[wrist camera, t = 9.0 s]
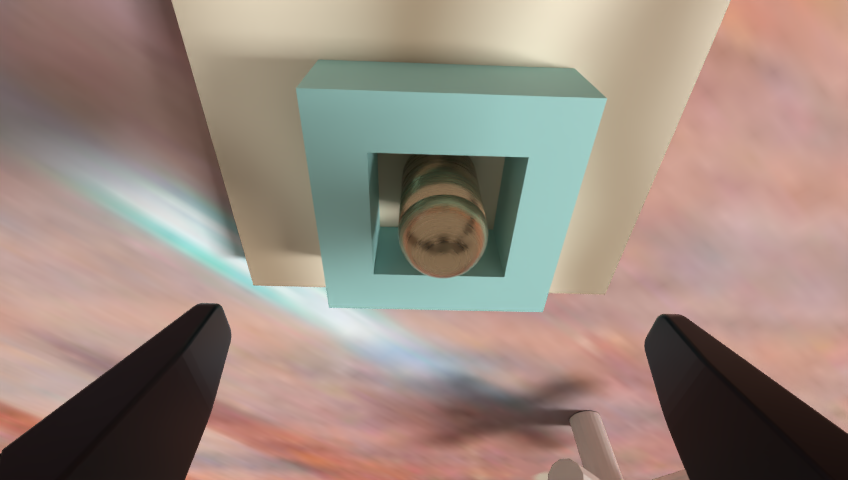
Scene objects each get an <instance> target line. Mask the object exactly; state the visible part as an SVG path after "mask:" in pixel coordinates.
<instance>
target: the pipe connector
mask: <svg viewBox="0 0 848 480" xmlns="http://www.w3.org/2000/svg"><path fill="white" fill-rule="evenodd" d="M570 424H571V428H572V431H573V434H574V438H575V441H576V444H577V448H578V451H579V454H580V458H581V461H582V464H583V467H582V466H580V465H579V464H577V463H576V462H574V461H572V460H571V459H560V460H558V461H557V462H555V463H554V464H553V465H552V467H551V469H550V471H549V473H548V480H623V478H622V475H621V472H620V469H619V467H618V464H617V461H616V458H615V456H614V453H613V450H612V448H611V445H610V442H609V439H608V437H607V434H606V431H605V428H604V426H603V423H602V420H601V417H600V415H599V414H598V413H596V412H594V411H583V412H579V413H576V414H574V415H573V416H572V417H571V418H570ZM652 480H689V478H688V475H687V473H686V470H685V469H684V470H681V471H678V472H675V473H672V474H668V475H665V476H662V477H659V478H656V479H652Z"/></svg>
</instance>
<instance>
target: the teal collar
mask: <svg viewBox="0 0 848 480" xmlns="http://www.w3.org/2000/svg"><path fill="white" fill-rule="evenodd" d="M296 93H297V99H298V106H299V113H300V119H301V126H302V132H303V139H304V146H305V152H306V159H307V165H308V172H309V179H310V185H311V192H312V198H313V205H314V212H315V218H316V225H317V231H318V238H319V245H320V251H321V258H322V264H323V271H324V278H325V284H326V291H327V297H328V304H329V308H372V309H420V310H468V311H516V312H543V310H544V306H545V303H546V300H547V296H548V293H549V290H550V286H551V283H552V280H553V277H554V273H555V270H556V267H557V263H558V260H559V257H560V253H561V250H562V247H563V243H564V240H565V237H566V233H567V230H568V227H569V223H570V220H571V217H572V214H573V210H574V207H575V204H576V200H577V197H578V194H579V190H580V187H581V184H582V180H583V177H584V174H585V170H586V167H587V164H588V161H589V157H590V154H591V151H592V147H593V144H594V141H595V137H596V134H597V131H598V127H599V124H600V121H601V117H602V114H603V111H604V108H605V104H606V101H607V98H606V97H605V96H604V95H603V94H602V93H601V92H600V91H599V90H597V89H596V88H595V87H594V86H593V85H592V84H591V83H590V82H589V81H588V80H587V79H586V78H584V77H583V76H582V75H581V74H580V73H579V72H578V71H577V70H576V69H575V68H548V67H519V66H491V65H462V64H433V63H405V62H376V61H347V60H318V61H317V62H316V63H315V64H314V66H313V67H312V68H311V69H310V71H309V72H308V73H307V75H306V76H305V77H304V78H303V80H302V81H301V82H300V83H299V85H298V86H297V87H296ZM377 153H399V154H432V155H466V156H500V157H505V161H504V167H503V173H502V179H501V185H500V191H499V197H498V203H497V209H496V215H495V221H494V227H493V230H492V229H488V242H487V246H486V249H485V251H484V254H483V255H482V257H481V259H480V260H479V261H478V263H477V264H476V265H475V266H474V267H473V268H471V269H470V270H469V271H467V272H466V273H464V274H462V275H459V276H456V277H452V278H434V277H430V276H427V275H424V274H422V273H421V272H419V271H418V270H416V269H415V268H413V267H412V266H411V265H410V263H409V262H408V261H407V260H406V258H405V257H404V255H403V253H402V251H401V249H400V245H399V241H398V227H380V210H379V184H378V157H377Z"/></svg>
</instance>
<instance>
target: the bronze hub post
mask: <svg viewBox="0 0 848 480" xmlns="http://www.w3.org/2000/svg"><path fill="white" fill-rule="evenodd" d="M398 241H399V245H400V249H401V251H402V253H403V255H404V257H405V258H406V260H407V261H408V262H409V263H410V265H411V266H412V267H413V268H415V269H416V270H418V271H419V272H421V273H422V274H424V275H427V276H430V277H434V278H452V277H456V276H459V275H462V274H464V273H466V272H467V271H469V270H470V269H471V268H473V267H474V266H475V265H476V264H477V263H478V261H479V260H480V259H481V257H482V255H483V254H484V251H485V249H486V246H487V242H488V224H487V219H486V215H485V210H484V206H483V201H482V197H481V192H480V188H479V183H478V179H477V174H476V170H475V166H474V164H473V162H472V160H471V159H470V157H469V156H466V155H432V154H413V155H412V156H411V157H410V158H409V159H408V161H407V162H406V164H405V166H404V169H403V173H402V186H401V198H400V211H399V223H398Z"/></svg>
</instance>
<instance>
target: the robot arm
mask: <svg viewBox="0 0 848 480" xmlns="http://www.w3.org/2000/svg"><path fill="white" fill-rule="evenodd" d="M230 342H231V329H230V326H229V324H228V321H227V318H226V316H225V313H224V310H223V308H222V306H221V305H219V304H214V303H200V304H197V305H195V306H194V307H192V308H191V309H190V310H188V311H187V312H186V313H184V314H183V315H182V316H180V317H179V318H178V319H176V320H175V321H174V322H172V323H171V324H170V325H168V326H167V327H166V328H164V329H163V330H162V331H160V332H159V333H158V334H156V335H155V336H154V337H152V338H151V339H150V340H148V341H147V342H146V343H144V344H143V345H142V346H140V347H139V348H138V349H136V350H135V351H134V352H132V353H131V354H130V355H128V356H127V357H126V358H124V359H123V360H122V361H120V362H119V363H118V364H116V365H115V366H114V367H112V368H111V369H110V370H108V371H107V372H106V373H104V374H103V375H102V376H100V377H99V378H98V379H96V380H95V381H94V382H92V383H91V384H90V385H88V386H87V387H85V388H84V389H83V390H81V391H80V392H79V393H77V394H76V395H75V396H73V397H72V398H71V399H69V400H68V401H67V402H65V403H64V404H63V405H61V406H60V407H59V408H57V409H56V410H55V411H53V412H52V413H51V414H49V415H48V416H47V417H45V418H44V419H43V420H41V421H40V422H39V423H37V424H36V425H35V426H33V427H32V428H31V429H29V430H28V431H27V432H25V433H24V434H23V435H21V436H20V437H19V438H17V439H16V440H15V441H13V442H12V443H11V444H9V445H8V446H7V447H5V448H4V449H3V450H2V453H0V480H185V478H186V476H187V473H188V470H189V468H190V465H191V463H192V460H193V458H194V455H195V453H196V450H197V448H198V445H199V443H200V440H201V437H202V435H203V432H204V430H205V427H206V425H207V422H208V419H209V417H210V414H211V411H212V408H213V404H214V401H215V397H216V394H217V390H218V386H219V383H220V379H221V375H222V372H223V368H224V364H225V360H226V357H227V353H228V349H229V346H230ZM644 346H645V352H646V356H647V359H648V363H649V366H650V370H651V373H652V377H653V380H654V384H655V387H656V391H657V394H658V398H659V401H660V404H661V408H662V411H663V414H664V417H665V420H666V423H667V425H668V428H669V431H670V433H671V436H672V438H673V441H674V443H675V446H676V448H677V451H678V453H679V456H680V458H681V461H682V463H683V465H684V468H685V470H686V473H687V475H688V478H689V480H848V433H846V432H845V431H843V430H842V429H841V428H839V427H838V426H836V425H835V424H834V423H832V422H831V421H829V420H828V419H827V418H825V417H824V416H823V415H821V414H820V413H818V412H817V411H816V410H814V409H813V408H811V407H810V406H809V405H807V404H806V403H804V402H803V401H802V400H800V399H799V398H797V397H796V396H795V395H793V394H792V393H790V392H789V391H788V390H786V389H785V388H784V387H782V386H781V385H779V384H778V383H777V382H775V381H774V380H772V379H771V378H770V377H768V376H767V375H765V374H764V373H763V372H761V371H760V370H758V369H757V368H756V367H754V366H753V365H752V364H750V363H749V362H747V361H746V360H745V359H743V358H742V357H740V356H739V355H738V354H736V353H735V352H733V351H732V350H731V349H729V348H728V347H726V346H725V345H724V344H722V343H721V342H720V341H718V340H717V339H715V338H714V337H713V336H711V335H710V334H708V333H707V332H706V331H704V330H703V329H701V328H700V327H699V326H697V325H696V324H694V323H693V322H692V321H690V320H689V319H687V318H686V317H684V316H682V315H679V314H661V315H660V316H658V317H657V319H656V321H655V322H654V324H653V326H652V328H651V330H650V331H649V333H648V335H647V337H646V339H645V345H644Z"/></svg>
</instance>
